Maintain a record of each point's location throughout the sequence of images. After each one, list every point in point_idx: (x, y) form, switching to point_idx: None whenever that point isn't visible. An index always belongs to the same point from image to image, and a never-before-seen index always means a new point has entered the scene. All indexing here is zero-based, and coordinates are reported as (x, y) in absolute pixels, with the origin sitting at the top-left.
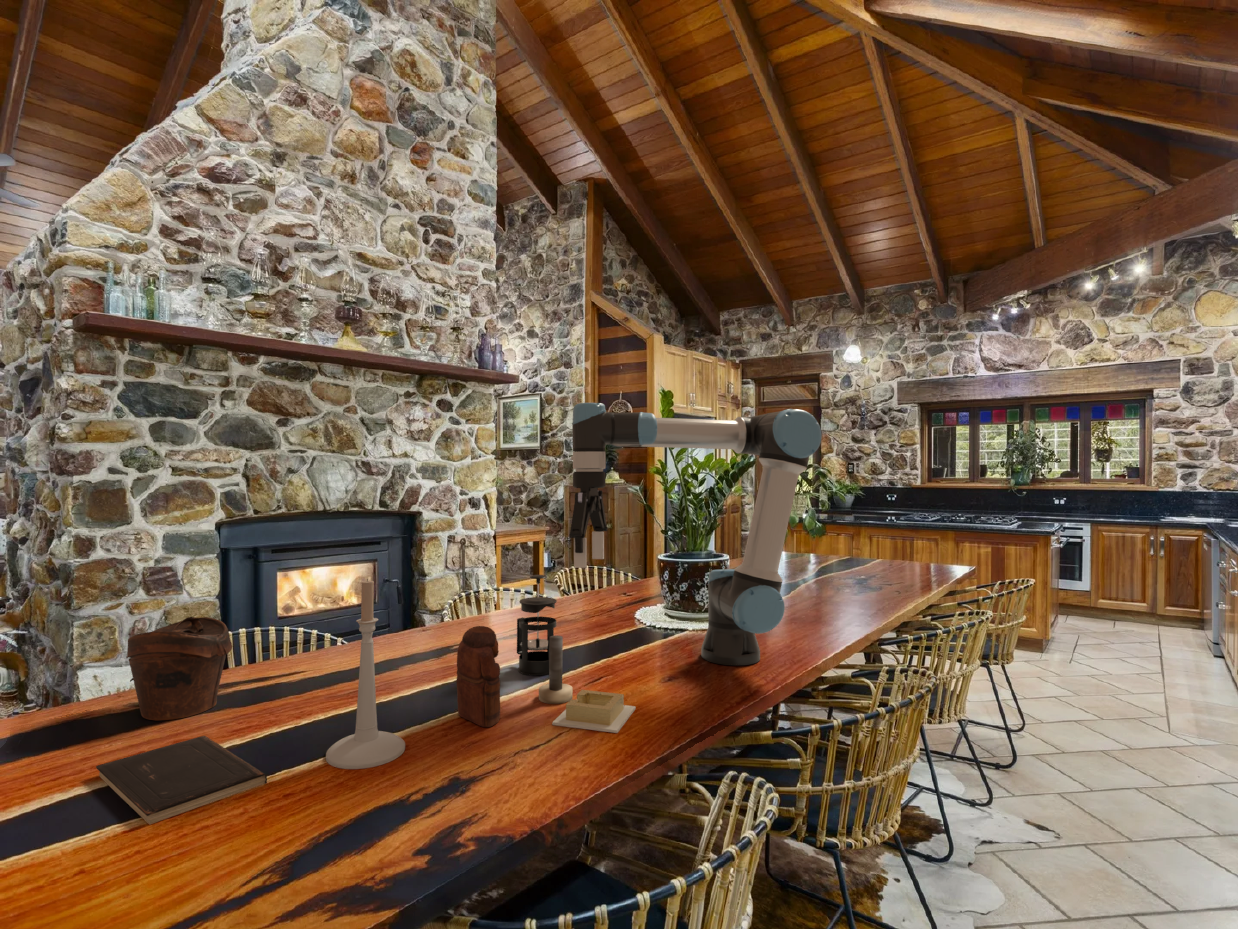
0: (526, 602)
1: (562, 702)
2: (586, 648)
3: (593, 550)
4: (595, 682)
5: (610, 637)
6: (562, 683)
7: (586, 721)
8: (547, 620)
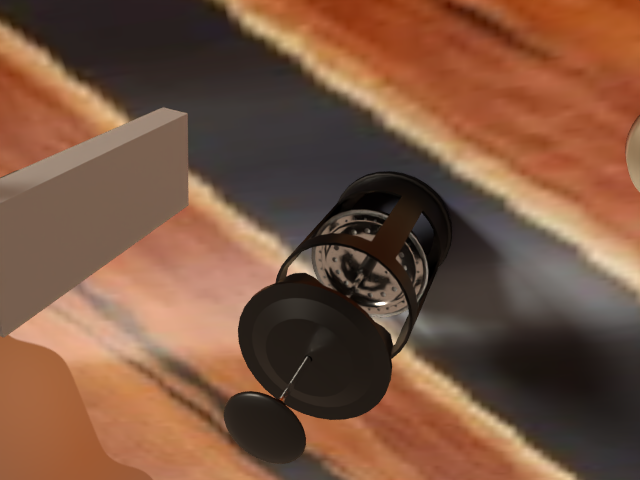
0: (356, 398)
1: None
2: (155, 100)
3: (145, 225)
4: (511, 21)
5: (27, 33)
6: (634, 137)
7: None
8: (285, 270)
